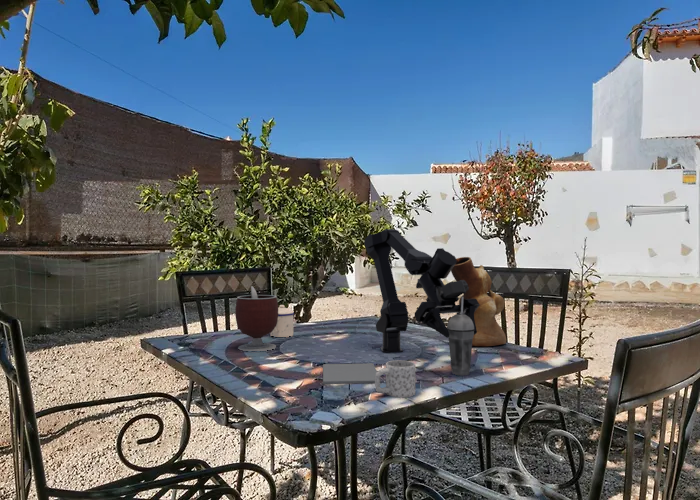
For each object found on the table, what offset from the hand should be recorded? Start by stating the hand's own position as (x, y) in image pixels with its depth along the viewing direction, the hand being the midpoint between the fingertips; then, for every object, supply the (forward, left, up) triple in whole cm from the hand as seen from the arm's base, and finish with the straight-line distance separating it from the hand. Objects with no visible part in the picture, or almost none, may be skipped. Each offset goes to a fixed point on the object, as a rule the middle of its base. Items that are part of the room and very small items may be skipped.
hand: (462, 335), depth 127 cm
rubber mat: (-2, -29, -10) cm, 31 cm away
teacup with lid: (-59, -52, -10) cm, 79 cm away
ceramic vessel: (-39, +16, -10) cm, 43 cm away
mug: (+16, -20, -10) cm, 28 cm away
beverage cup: (-1, 0, -10) cm, 10 cm away
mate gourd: (-38, -58, -10) cm, 70 cm away
